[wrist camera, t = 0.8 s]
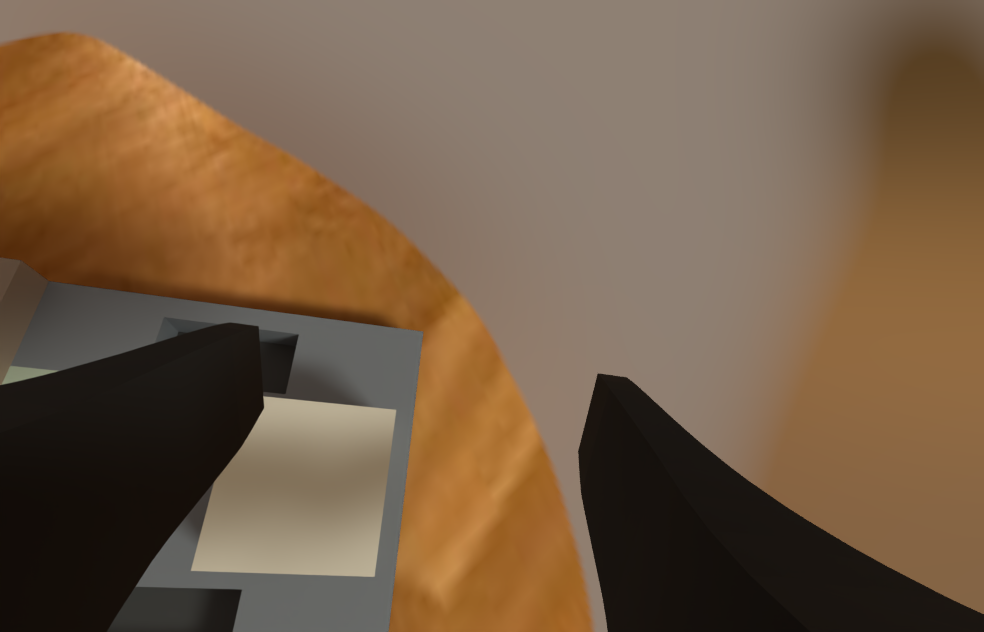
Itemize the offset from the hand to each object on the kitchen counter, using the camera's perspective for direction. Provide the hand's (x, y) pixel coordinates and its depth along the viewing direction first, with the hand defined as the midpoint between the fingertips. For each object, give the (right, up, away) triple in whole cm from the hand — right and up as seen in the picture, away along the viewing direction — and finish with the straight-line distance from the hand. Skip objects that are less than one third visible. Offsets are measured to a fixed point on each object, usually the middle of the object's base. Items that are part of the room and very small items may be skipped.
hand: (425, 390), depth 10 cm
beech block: (-6, -6, +11) cm, 14 cm away
